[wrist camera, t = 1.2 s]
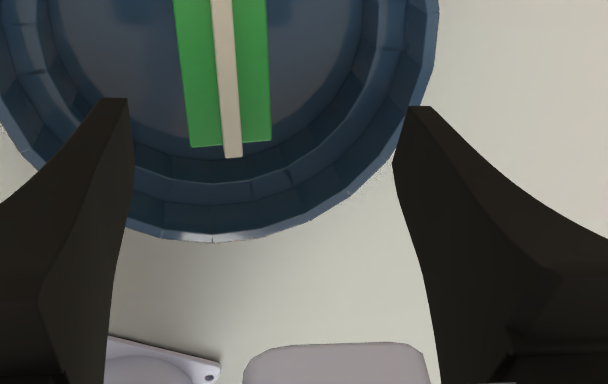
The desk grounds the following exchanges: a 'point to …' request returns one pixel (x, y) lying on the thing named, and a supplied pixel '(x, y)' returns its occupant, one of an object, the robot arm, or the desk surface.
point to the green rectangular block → (224, 72)
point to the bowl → (172, 113)
